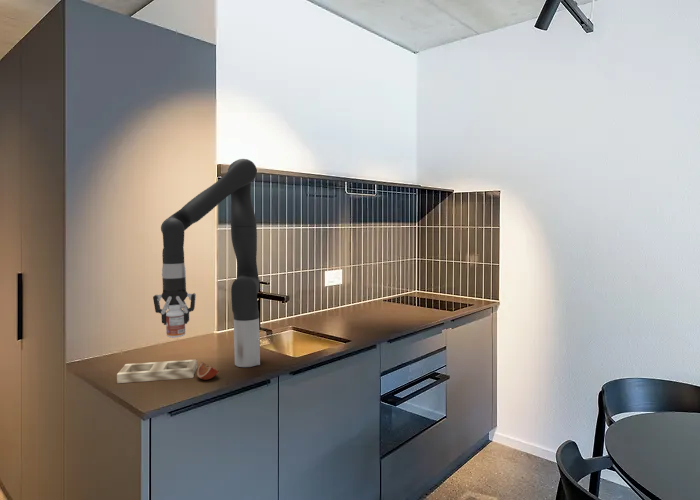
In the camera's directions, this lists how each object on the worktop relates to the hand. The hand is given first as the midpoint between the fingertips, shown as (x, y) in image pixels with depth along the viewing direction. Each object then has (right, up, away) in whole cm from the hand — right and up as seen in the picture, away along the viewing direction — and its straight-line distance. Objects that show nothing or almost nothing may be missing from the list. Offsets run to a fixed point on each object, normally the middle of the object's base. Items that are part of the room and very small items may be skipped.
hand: (175, 323), depth 162 cm
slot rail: (-6, -18, 0) cm, 19 cm away
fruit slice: (+12, -18, -3) cm, 22 cm away
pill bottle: (0, -4, 0) cm, 4 cm away
